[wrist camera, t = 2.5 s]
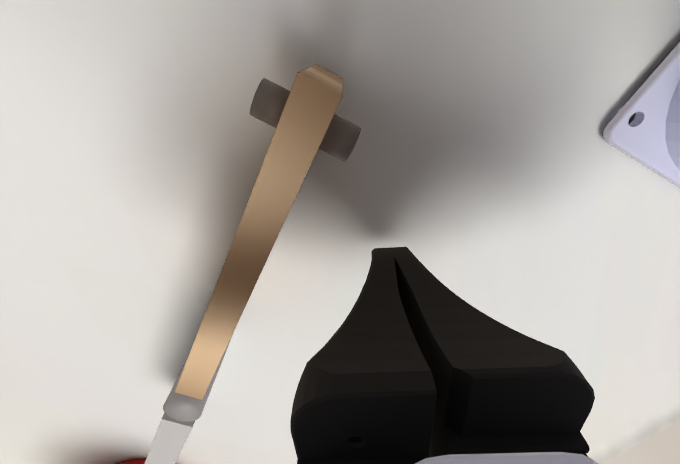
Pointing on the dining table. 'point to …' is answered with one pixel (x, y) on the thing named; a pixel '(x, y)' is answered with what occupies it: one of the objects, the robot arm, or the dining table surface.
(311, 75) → the door
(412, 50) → the dining table surface
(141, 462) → the canned food
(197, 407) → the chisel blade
